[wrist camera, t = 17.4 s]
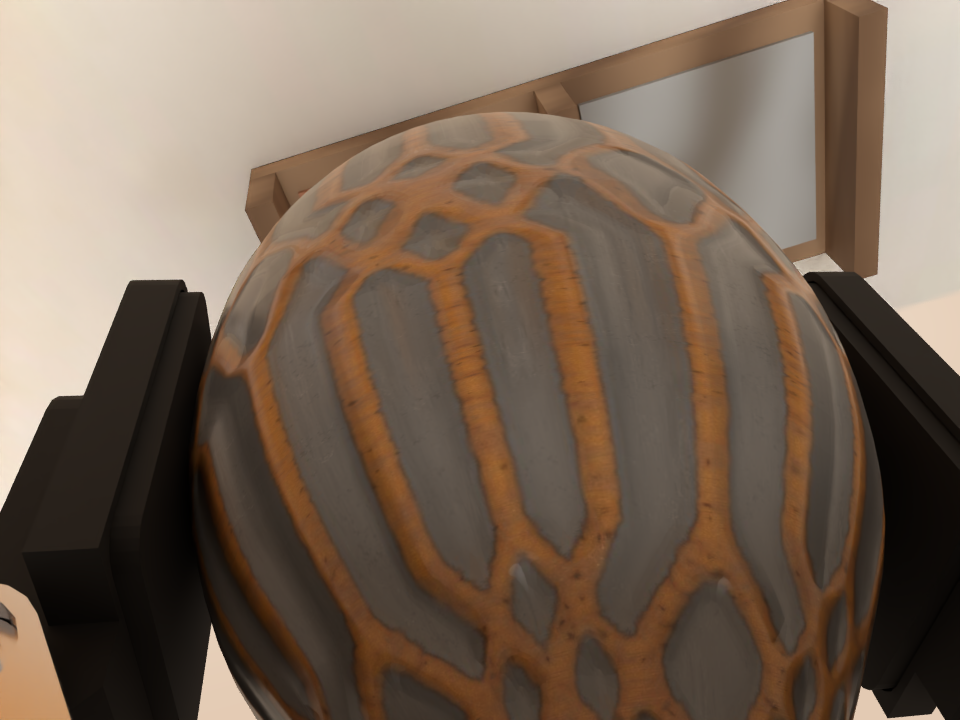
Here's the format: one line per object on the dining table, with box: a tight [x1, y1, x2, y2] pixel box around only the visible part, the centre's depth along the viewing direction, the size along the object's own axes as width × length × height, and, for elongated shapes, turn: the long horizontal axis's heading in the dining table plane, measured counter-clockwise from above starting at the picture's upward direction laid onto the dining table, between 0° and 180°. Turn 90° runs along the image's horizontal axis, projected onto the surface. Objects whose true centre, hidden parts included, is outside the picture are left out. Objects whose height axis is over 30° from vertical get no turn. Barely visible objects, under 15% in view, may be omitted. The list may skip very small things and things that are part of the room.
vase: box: [188, 112, 885, 720], centre depth 9 cm, size 7×7×9 cm
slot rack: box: [245, 0, 888, 278], centre depth 34 cm, size 23×11×4 cm, turn 105°
